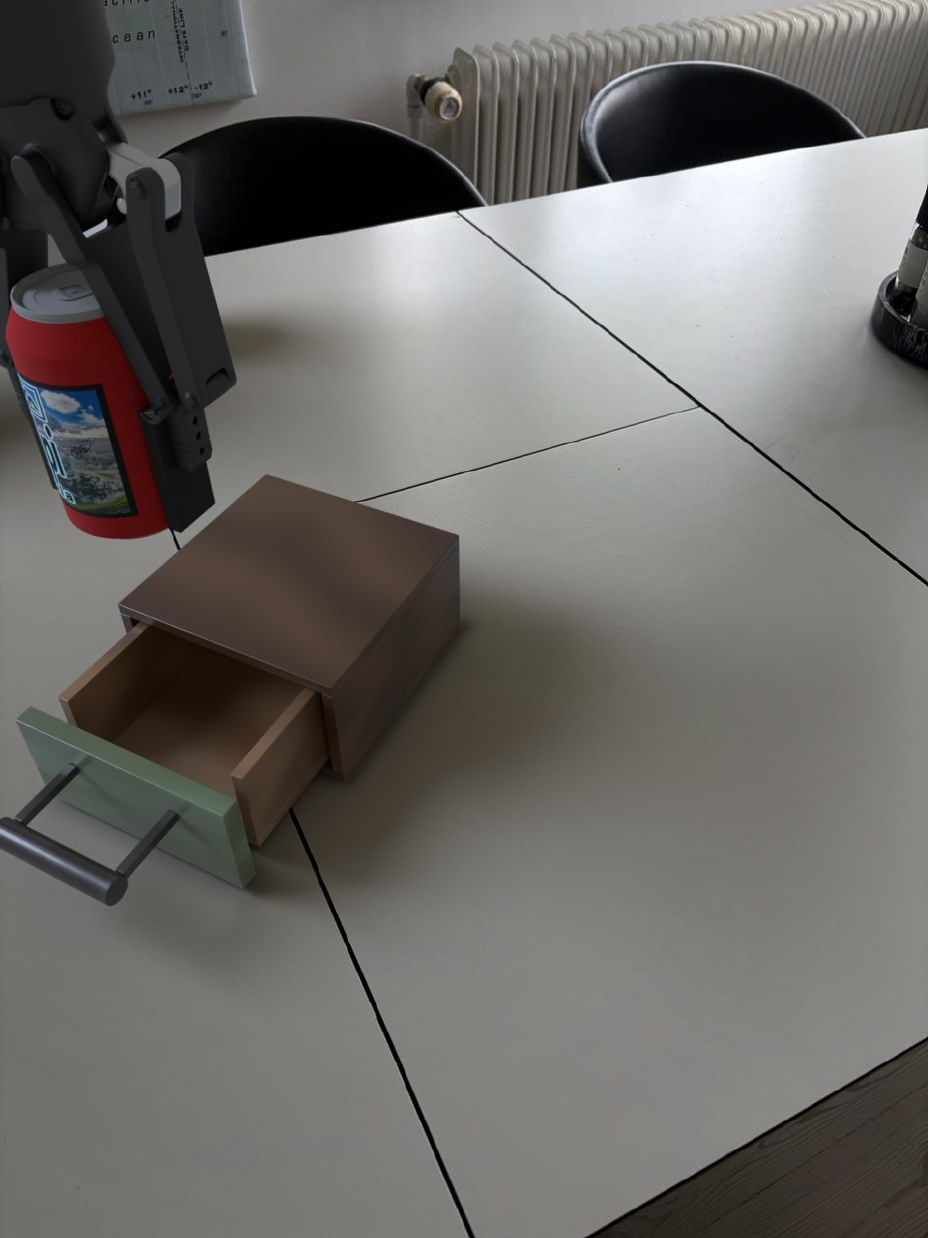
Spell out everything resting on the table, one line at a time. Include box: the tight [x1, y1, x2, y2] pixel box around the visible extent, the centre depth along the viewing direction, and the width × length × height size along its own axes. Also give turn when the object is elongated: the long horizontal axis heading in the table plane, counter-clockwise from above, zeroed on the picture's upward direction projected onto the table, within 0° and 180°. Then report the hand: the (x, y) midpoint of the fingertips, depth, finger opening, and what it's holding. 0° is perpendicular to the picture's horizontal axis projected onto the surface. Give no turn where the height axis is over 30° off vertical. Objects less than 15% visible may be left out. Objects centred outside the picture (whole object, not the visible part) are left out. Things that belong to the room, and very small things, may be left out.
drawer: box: [0, 621, 331, 907], centre depth 59 cm, size 20×14×7 cm
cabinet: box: [117, 473, 461, 781], centre depth 67 cm, size 16×16×9 cm
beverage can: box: [6, 262, 173, 540], centre depth 47 cm, size 7×7×12 cm
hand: (133, 495), depth 51 cm, fingers closed on beverage can, 7 cm apart
